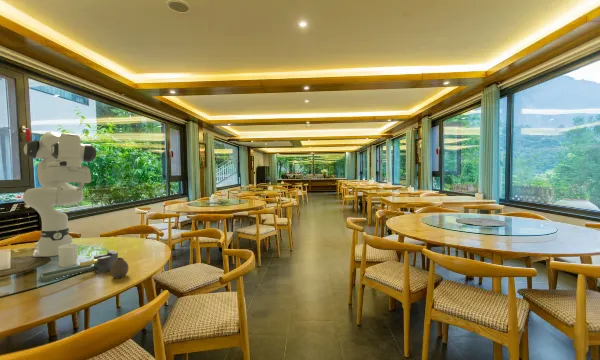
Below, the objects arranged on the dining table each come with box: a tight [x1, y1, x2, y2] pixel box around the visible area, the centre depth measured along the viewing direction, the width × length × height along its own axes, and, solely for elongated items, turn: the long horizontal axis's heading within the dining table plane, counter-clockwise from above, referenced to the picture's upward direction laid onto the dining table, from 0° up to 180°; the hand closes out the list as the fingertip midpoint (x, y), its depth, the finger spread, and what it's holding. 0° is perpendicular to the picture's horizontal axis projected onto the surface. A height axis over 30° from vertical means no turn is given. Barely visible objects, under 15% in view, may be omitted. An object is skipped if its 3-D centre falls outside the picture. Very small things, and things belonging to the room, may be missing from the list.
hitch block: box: [93, 249, 119, 274], centre depth 131 cm, size 7×8×8 cm
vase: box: [110, 257, 129, 279], centre depth 122 cm, size 7×7×9 cm
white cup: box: [57, 243, 79, 268], centre depth 136 cm, size 8×8×10 cm
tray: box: [38, 264, 95, 283], centre depth 124 cm, size 7×18×2 cm, turn 143°
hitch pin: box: [79, 259, 97, 267], centre depth 128 cm, size 14×2×2 cm, turn 143°
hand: (70, 191), depth 133 cm, fingers open, 8 cm apart
